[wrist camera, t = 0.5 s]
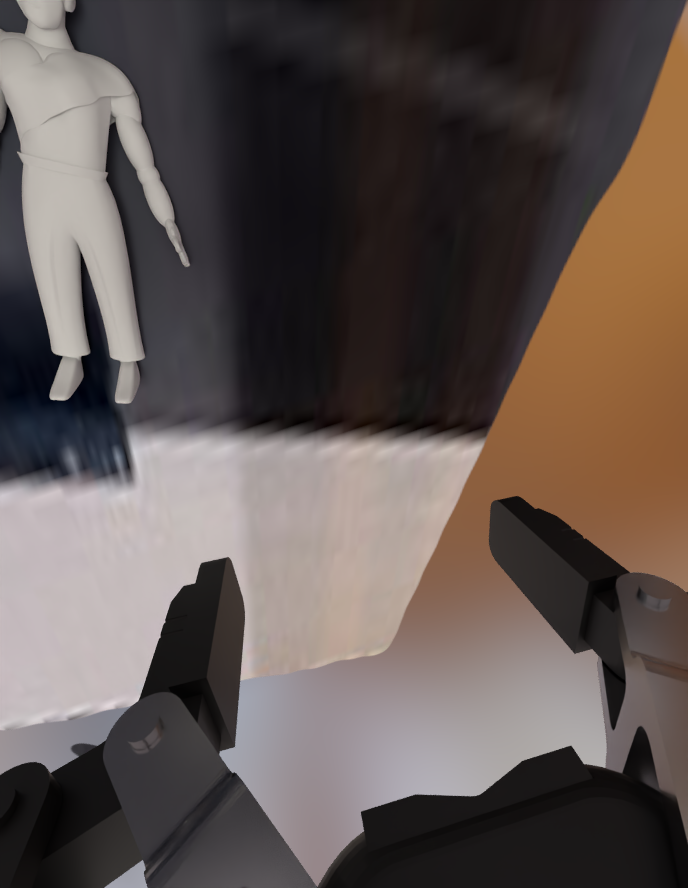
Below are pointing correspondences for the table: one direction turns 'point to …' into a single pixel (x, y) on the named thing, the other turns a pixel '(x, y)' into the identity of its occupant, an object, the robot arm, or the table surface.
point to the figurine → (77, 187)
